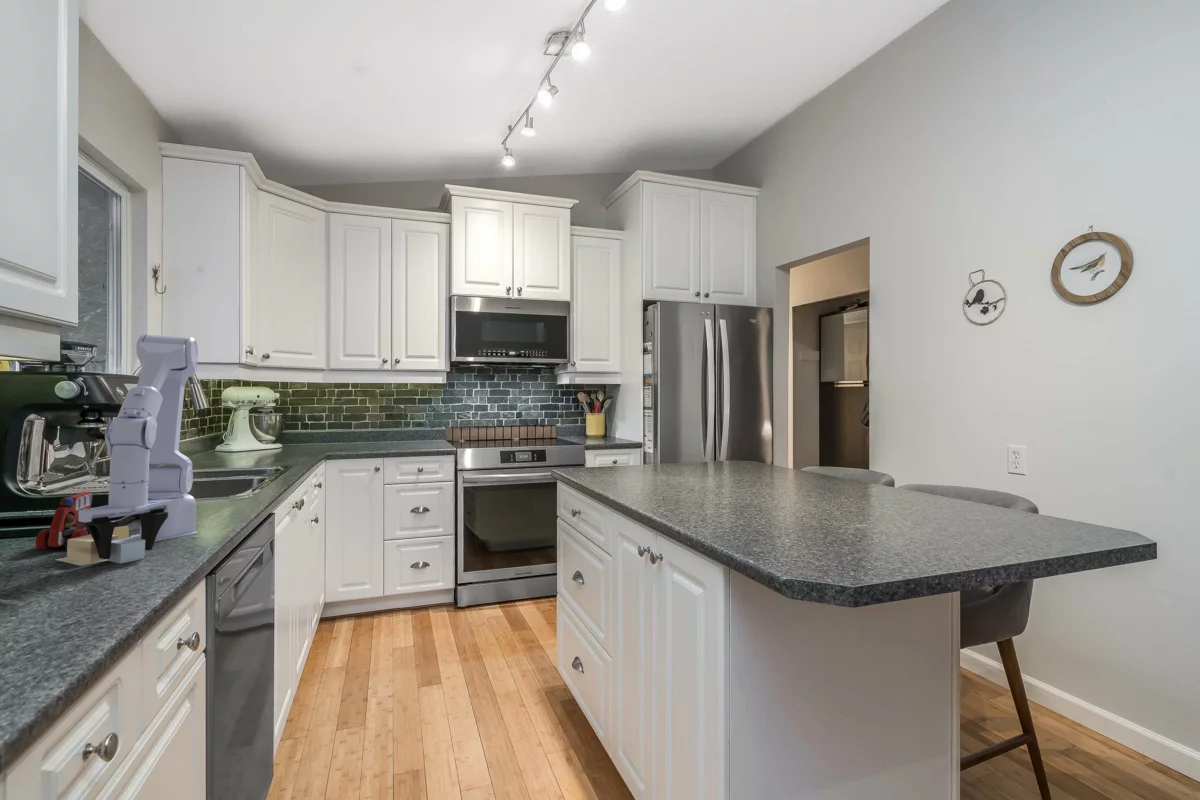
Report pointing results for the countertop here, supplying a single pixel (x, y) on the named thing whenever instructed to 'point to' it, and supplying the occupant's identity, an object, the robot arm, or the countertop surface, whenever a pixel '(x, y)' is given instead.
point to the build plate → (76, 562)
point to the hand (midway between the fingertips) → (126, 553)
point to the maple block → (83, 549)
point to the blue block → (127, 550)
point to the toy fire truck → (65, 522)
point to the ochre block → (121, 532)
